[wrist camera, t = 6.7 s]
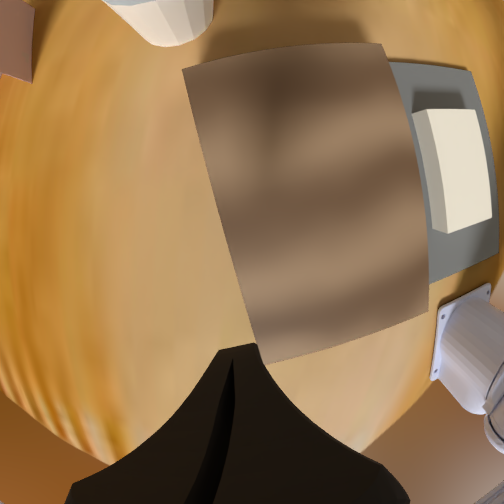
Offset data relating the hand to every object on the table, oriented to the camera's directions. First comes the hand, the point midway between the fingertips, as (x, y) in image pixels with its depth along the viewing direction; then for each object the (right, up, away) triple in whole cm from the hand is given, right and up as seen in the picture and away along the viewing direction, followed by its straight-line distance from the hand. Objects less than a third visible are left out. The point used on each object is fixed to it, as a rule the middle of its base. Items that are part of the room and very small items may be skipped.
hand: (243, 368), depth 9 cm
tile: (+16, +11, +7) cm, 21 cm away
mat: (+17, +11, +9) cm, 22 cm away
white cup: (-5, +21, +5) cm, 23 cm away
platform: (+4, +8, +9) cm, 13 cm away
